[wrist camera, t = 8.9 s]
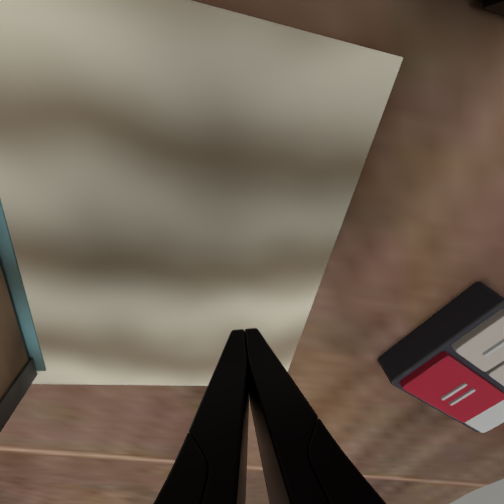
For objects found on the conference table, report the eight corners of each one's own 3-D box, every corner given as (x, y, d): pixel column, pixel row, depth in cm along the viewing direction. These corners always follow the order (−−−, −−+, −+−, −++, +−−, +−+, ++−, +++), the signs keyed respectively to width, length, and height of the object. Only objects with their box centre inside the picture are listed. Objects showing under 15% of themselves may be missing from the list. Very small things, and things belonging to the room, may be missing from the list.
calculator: (516, 306, 19) (596, 381, 24) (469, 273, 23) (546, 344, 28) (393, 392, 23) (484, 442, 28) (370, 351, 26) (454, 401, 32)
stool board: (-225, -91, 9) (-365, -151, 7) (373, 63, 14) (404, 57, 11) (-29, 351, 20) (-61, 384, 17) (276, 360, 24) (282, 387, 22)
